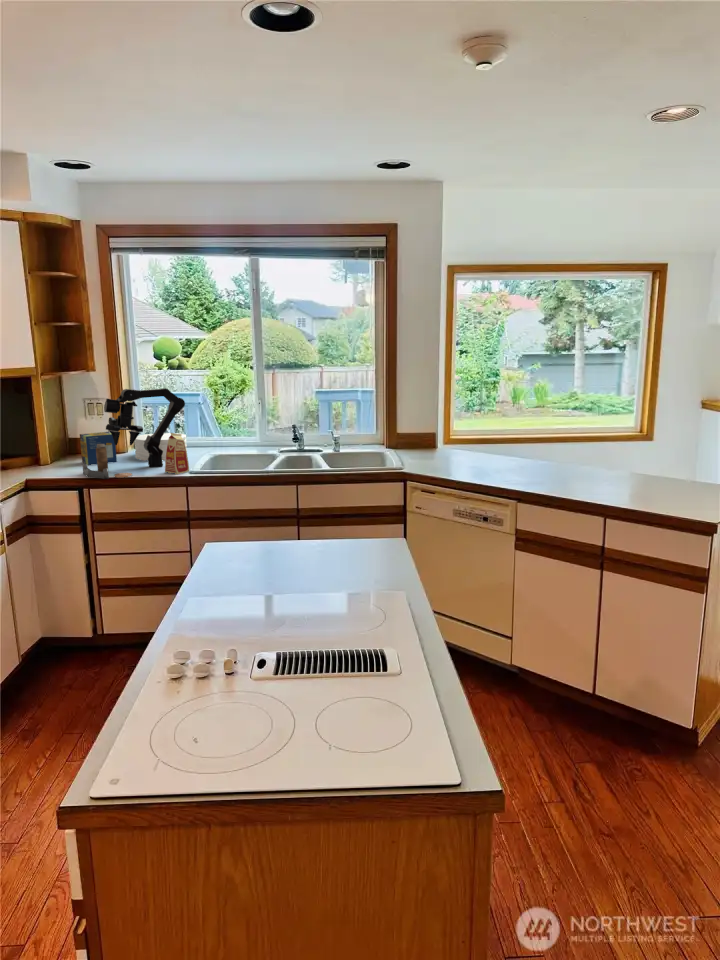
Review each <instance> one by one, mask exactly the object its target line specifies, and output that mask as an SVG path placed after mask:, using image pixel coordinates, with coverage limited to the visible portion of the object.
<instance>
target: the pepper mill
mask: <svg viewBox="0 0 720 960" xmlns="http://www.w3.org/2000/svg"><path fill="white" fill-rule="evenodd" d="M96 456H97V464H96V467H97V471H103V469H106V468H107V469H108V470H109V463H108V461H107V450H106V447H105V444H97V448H96Z"/></svg>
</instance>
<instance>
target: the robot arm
mask: <svg viewBox="0 0 720 960" xmlns="http://www.w3.org/2000/svg"><path fill="white" fill-rule="evenodd" d="M157 397H164V398H165V399H166V400H167V401H168V402H169V404H168V407H167V411H166V413H165V414H164V417H163V418H162V419H161V421H160V422H159V424H158V426H157V427H156V429H155V430H154V433H152V434H153V435H152V436H149V435H148V436H147V438H146V440H145V441H144V442H145V443H144V448H145V450H147V451H148V453H149V457H148V461H147V462H148V465H147V466H148V467H149V468H159V467H160V468H161V467H163V466H164V463H163V461H162V454H163V451H162V450H161V449H160V448H159V445H160V441H161V438H162V436H163V434H164V433H166V432H167V429H168V428H169V426H171V425H170V424H171V423H172V421H173V420H174V419H175V416H177V414H178V413H180V412H181V411H182V410H183V409H184V407H185V406H186V402H185V400H184V399H183V398H182V397H178V396H177V395H176V394H175V393H173V392H172V391H170V389H169V388H166V387H163V388H156V389H153V388H152V389H144V390H143V389H141V390H139V389H133V388H132V389H131V388H125V389H122V391H121V393H120V395H119V396H118V397H117V398H116V399H111V398H105V402H104V405H103V412H104V413H108V414H111V413H112V414H118V413H119V415H117V418H114V417H111V416H110V417H109V418H108V423H107V424H106V426H105V430H106V431H107V432H110V433H111V434H112V436H113V440H114V443H115V445H116V446H118V443H119V440H120V435H121V431H128V432H129V435H130V436H129V446H133V444H135V443H134V442H135V439H136V438H137V436H140V435H142V433H143V432H144V427H143V426H140V425H134V424H133V423H132V421H133V420H134V419H135V418H134V416H133V410H134V407H138V404H137V403H136V401H137V400H140V399H144V398H157ZM132 424H133V425H132Z"/></svg>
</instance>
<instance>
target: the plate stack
mask: <svg viewBox="0 0 720 960" xmlns="http://www.w3.org/2000/svg"><path fill="white" fill-rule="evenodd" d="M171 433H172V432H165V433H164V434H163V436H162V438H161V441H160V445H159V448H160V449H161V450H162V451H163V454H162V460H164V461H165V460H166V451H167V445H168V439H169V437H170V436H171ZM174 433H175V434H179V433H177V432H174ZM153 434H154V433H149V434H148V433H147V434H139V435H138V436H137V438H136V439H135V441H134V443H133V444H134V445H135V446H134V449H135V452H134V453H135V459H136V458H137V459H136V460H138V459H141V460H140V461H145V460H148V457H149V453H148V451H147V450H145V448H144V443H145V442H144V441H145V440H146V438H147V436H148V435H149V436H152V435H153ZM181 434H182V435H181V437H182V438H183V439H184V442H185V446H186V451H187V452H188V448H187V447H188V445H187V434H184V433H181Z"/></svg>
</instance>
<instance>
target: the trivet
mask: <svg viewBox="0 0 720 960" xmlns="http://www.w3.org/2000/svg"><path fill="white" fill-rule="evenodd" d="M131 475H132V476H133V474H132V473H131V472H119V473H115V474H114V475H113V477H114V476H115V477H114V478H116V479H117V478H118V479H121V478H122V479H123V478H124V477H125V478H129V477H128V476H131ZM132 476H131V477H132ZM125 478H124V479H125Z"/></svg>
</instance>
